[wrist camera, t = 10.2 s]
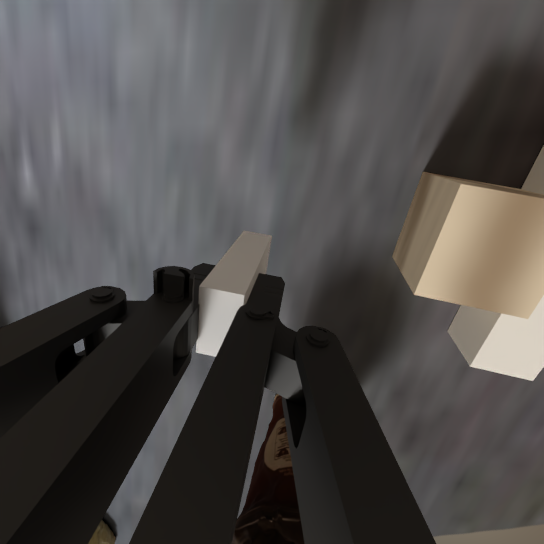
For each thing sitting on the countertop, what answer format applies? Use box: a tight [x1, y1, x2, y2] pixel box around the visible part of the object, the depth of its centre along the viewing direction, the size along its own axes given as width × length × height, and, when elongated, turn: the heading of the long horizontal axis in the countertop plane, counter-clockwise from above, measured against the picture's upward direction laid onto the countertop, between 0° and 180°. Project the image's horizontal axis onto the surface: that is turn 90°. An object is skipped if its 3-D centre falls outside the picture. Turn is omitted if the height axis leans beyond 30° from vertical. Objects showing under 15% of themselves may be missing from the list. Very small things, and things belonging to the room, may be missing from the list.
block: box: [392, 172, 544, 319], centre depth 17 cm, size 6×6×6 cm
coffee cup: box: [232, 394, 305, 544], centre depth 23 cm, size 9×8×13 cm
